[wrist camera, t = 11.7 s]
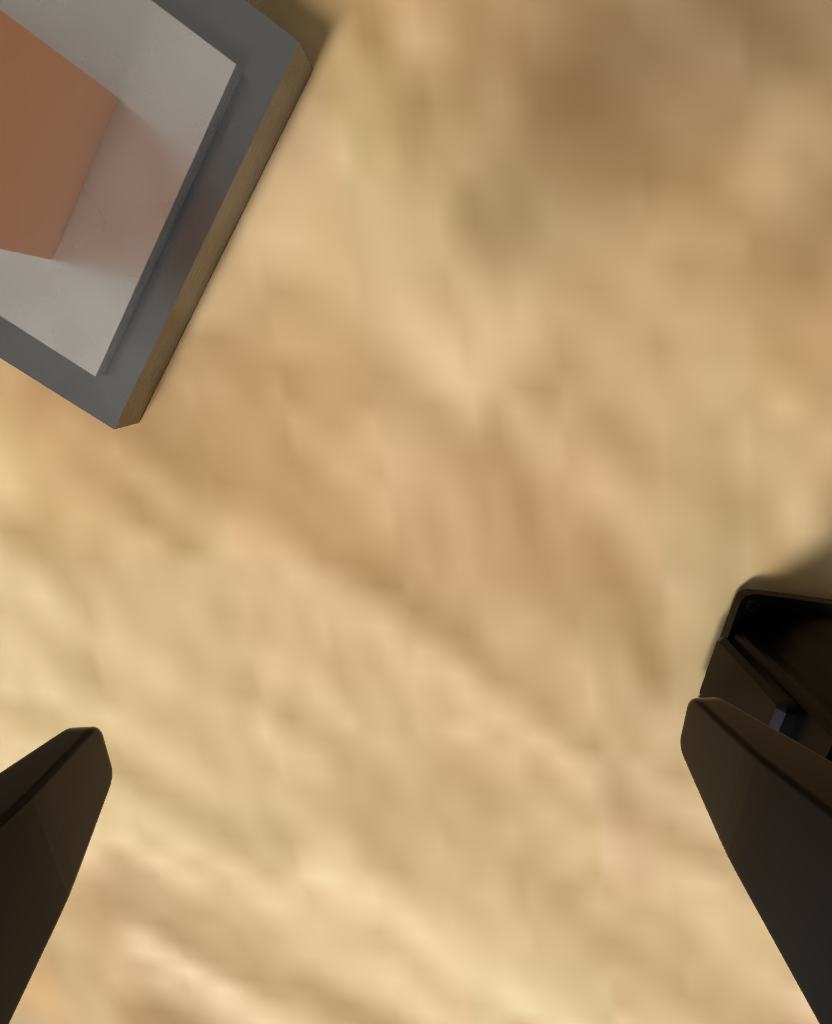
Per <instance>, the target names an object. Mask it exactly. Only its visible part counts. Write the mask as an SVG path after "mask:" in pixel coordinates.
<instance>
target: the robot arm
mask: <svg viewBox="0 0 832 1024" xmlns="http://www.w3.org/2000/svg"><path fill="white" fill-rule="evenodd" d="M750 600H754V602H753V603H752V605H750V606H747V607H746V604H747V602H749V601H750ZM700 694H701V695H700V698H695V699H692V700H691V701H690V702H689V704H688V707H687V711H686V716H685V720H684V725H683V729H682V734H681V750H682V754H683V756H684V759H685V761H686V763H687V766H688V768H689V770H690V772H691V775H692V777H693V779H694V782H695V784H696V786H697V788H698V791H699V793H700V795H701V798H702V800H703V802H704V804H705V807H706V809H707V811H708V813H709V816H710V818H711V820H712V823H713V825H714V827H715V829H716V832H717V834H718V836H719V839H720V841H721V843H722V845H723V847H724V849H725V851H726V853H727V856H728V858H729V859H730V861H731V863H732V865H733V867H734V869H735V871H736V873H737V875H738V876H739V878H740V880H741V882H742V884H743V886H744V887H745V889H746V891H747V893H748V895H749V896H750V898H751V900H752V902H753V904H754V905H755V907H756V909H757V911H758V913H759V915H760V916H761V918H762V920H763V922H764V924H765V925H766V927H767V929H768V931H769V933H770V935H771V936H772V938H773V940H774V942H775V944H776V945H777V947H778V949H779V951H780V953H781V954H782V956H783V958H784V960H785V962H786V964H787V965H788V967H789V969H790V971H791V973H792V974H793V976H794V978H795V980H796V982H797V984H798V985H799V987H800V989H801V991H802V993H803V994H804V996H805V998H806V1000H807V1002H808V1003H809V1005H810V1007H811V1009H812V1011H813V1013H814V1014H815V1016H816V1018H817V1020H818V1022H819V1023H820V1024H832V600H828V599H820V598H813V597H805V596H798V595H791V594H783V593H776V592H768V591H761V590H754V589H746V590H743V591H741V592H739V593H738V594H737V595H736V597H735V598H734V601H733V603H732V606H731V609H730V612H729V615H728V618H727V621H726V624H725V626H724V629H723V632H722V635H721V638H720V639H719V640H718V641H717V643H716V646H715V649H714V652H713V655H712V657H711V660H710V663H709V666H708V669H707V672H706V675H705V678H704V680H703V683H702V686H701V689H700ZM111 780H112V766H111V762H110V759H109V755H108V752H107V748H106V745H105V741H104V738H103V735H102V732H101V731H100V730H99V729H98V728H96V727H78V728H69V729H66V730H65V731H63V732H61V733H60V734H58V735H57V736H55V737H54V738H52V739H51V740H49V741H48V742H46V743H45V744H43V745H42V746H40V747H39V748H37V749H36V750H34V751H33V752H31V753H30V754H28V755H27V756H25V757H24V758H22V759H20V760H19V761H17V762H16V763H14V764H13V765H11V766H10V767H8V768H7V769H5V770H4V771H2V772H1V773H0V1024H9V1022H10V1020H11V1018H12V1016H13V1014H14V1012H15V1010H16V1008H17V1005H18V1003H19V1001H20V999H21V997H22V995H23V993H24V991H25V989H26V987H27V984H28V982H29V980H30V978H31V976H32V974H33V972H34V970H35V968H36V966H37V963H38V961H39V959H40V957H41V955H42V953H43V951H44V949H45V947H46V945H47V942H48V940H49V938H50V936H51V934H52V932H53V930H54V928H55V926H56V923H57V921H58V919H59V917H60V915H61V913H62V911H63V908H64V906H65V904H66V902H67V899H68V897H69V895H70V892H71V890H72V887H73V885H74V882H75V880H76V877H77V874H78V872H79V869H80V866H81V864H82V861H83V858H84V855H85V853H86V850H87V847H88V845H89V842H90V839H91V837H92V834H93V831H94V828H95V826H96V823H97V820H98V818H99V815H100V812H101V809H102V807H103V804H104V801H105V799H106V796H107V793H108V790H109V788H110V785H111Z"/></svg>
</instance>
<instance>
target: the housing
mask: <svg viewBox="0 0 832 1024" xmlns="http://www.w3.org/2000/svg"><path fill="white" fill-rule="evenodd" d="M117 100H118V97H116V96H115V95H114V94H112V93H111V92H110V91H108V90H107V89H106V88H104V87H103V86H102V85H100V84H99V83H98V82H96V81H95V80H94V79H92V78H91V77H90V76H88V75H87V74H86V73H84V72H83V71H82V70H80V69H79V68H78V67H76V66H75V65H74V64H72V63H71V62H70V61H68V60H67V59H66V58H64V57H63V56H62V55H60V54H59V53H58V52H56V51H55V50H54V49H52V48H51V47H50V46H48V45H47V44H45V43H44V42H43V41H41V40H40V39H39V38H37V37H36V36H35V35H33V34H32V33H31V32H29V31H28V30H27V29H25V28H24V27H23V26H21V25H20V24H19V23H17V22H16V21H15V20H13V19H12V18H11V17H9V16H8V15H7V14H5V13H4V12H3V11H1V10H0V249H3V250H8V251H12V252H17V253H22V254H26V255H31V256H36V257H41V258H45V259H50V260H52V259H53V257H54V254H55V252H56V250H57V247H58V245H59V242H60V240H61V237H62V235H63V232H64V230H65V228H66V225H67V223H68V220H69V218H70V215H71V213H72V210H73V208H74V205H75V203H76V201H77V198H78V196H79V193H80V191H81V188H82V186H83V183H84V181H85V179H86V176H87V174H88V171H89V169H90V166H91V164H92V161H93V159H94V157H95V154H96V152H97V149H98V147H99V144H100V142H101V139H102V137H103V134H104V132H105V130H106V127H107V125H108V122H109V120H110V117H111V115H112V112H113V110H114V108H115V105H116V103H117Z"/></svg>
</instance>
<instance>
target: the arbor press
mask: <svg viewBox="0 0 832 1024" xmlns="http://www.w3.org/2000/svg"><path fill="white" fill-rule="evenodd" d="M0 10H1V11H3V12H4V13H5V14H7V15H8V16H9V17H11V18H12V19H13V20H15V21H16V22H17V23H19V24H20V25H21V26H23V27H24V28H25V29H27V30H28V31H29V32H31V33H32V34H33V35H35V36H36V37H37V38H39V39H40V40H41V41H43V42H44V43H45V44H47V45H48V46H50V47H51V48H52V49H54V50H55V51H56V52H58V53H59V54H60V55H62V56H63V57H64V58H66V59H67V60H68V61H70V62H71V63H72V64H74V65H75V66H76V67H78V68H79V69H80V70H82V71H83V72H84V73H86V74H87V75H88V76H90V77H91V78H92V79H94V80H95V81H96V82H98V83H99V84H100V85H102V86H103V87H104V88H106V89H107V90H108V91H110V92H111V93H112V94H114V95H115V96H116V97H118V100H117V103H116V105H115V108H114V110H113V112H112V115H111V117H110V120H109V122H108V125H107V127H106V130H105V132H104V134H103V137H102V139H101V142H100V144H99V147H98V149H97V152H96V154H95V157H94V159H93V161H92V164H91V166H90V169H89V171H88V174H87V176H86V179H85V181H84V183H83V186H82V188H81V191H80V193H79V196H78V198H77V201H76V203H75V205H74V208H73V210H72V213H71V215H70V218H69V220H68V223H67V225H66V228H65V230H64V232H63V235H62V237H61V240H60V242H59V245H58V247H57V250H56V252H55V254H54V257H53V259H52V260H50V259H45V258H41V257H36V256H31V255H26V254H22V253H17V252H12V251H8V250H3V249H0V358H2V359H3V360H5V361H6V362H8V363H9V364H11V365H13V366H14V367H16V368H17V369H19V370H21V371H22V372H24V373H25V374H27V375H29V376H30V377H32V378H33V379H35V380H37V381H38V382H40V383H41V384H43V385H44V386H46V387H48V388H49V389H51V390H52V391H54V392H56V393H57V394H59V395H60V396H62V397H64V398H65V399H67V400H68V401H70V402H72V403H73V404H75V405H76V406H78V407H79V408H81V409H83V410H84V411H86V412H87V413H89V414H91V415H92V416H94V417H95V418H97V419H99V420H100V421H102V422H103V423H105V424H107V425H108V426H110V427H111V428H113V429H117V428H121V427H125V426H129V425H132V424H136V423H139V421H140V419H141V416H142V414H143V412H144V410H145V408H146V406H147V404H148V402H149V400H150V398H151V396H152V394H153V392H154V390H155V388H156V386H157V384H158V382H159V380H160V378H161V376H162V374H163V372H164V370H165V368H166V366H167V364H168V362H169V360H170V358H171V356H172V354H173V352H174V350H175V347H176V345H177V343H178V341H179V339H180V337H181V335H182V333H183V331H184V329H185V327H186V325H187V323H188V321H189V319H190V317H191V315H192V313H193V311H194V309H195V307H196V305H197V303H198V301H199V299H200V297H201V295H202V293H203V291H204V289H205V287H206V285H207V283H208V281H209V278H210V276H211V274H212V272H213V270H214V268H215V266H216V264H217V262H218V260H219V258H220V256H221V254H222V252H223V250H224V248H225V246H226V244H227V242H228V240H229V238H230V236H231V234H232V232H233V230H234V228H235V226H236V224H237V222H238V220H239V218H240V216H241V214H242V212H243V209H244V207H245V205H246V203H247V201H248V199H249V197H250V195H251V193H252V191H253V189H254V187H255V185H256V183H257V181H258V179H259V177H260V175H261V173H262V171H263V169H264V167H265V165H266V163H267V161H268V159H269V157H270V155H271V153H272V151H273V149H274V147H275V145H276V143H277V140H278V138H279V136H280V134H281V132H282V130H283V128H284V126H285V124H286V122H287V120H288V118H289V116H290V114H291V112H292V110H293V108H294V106H295V104H296V102H297V100H298V98H299V96H300V94H301V92H302V90H303V88H304V86H305V84H306V82H307V80H308V78H309V76H310V74H311V71H312V69H313V68H312V66H311V64H310V62H309V60H308V58H307V56H306V54H305V52H304V50H303V48H302V46H301V43H300V42H299V41H298V40H297V39H295V38H294V37H293V36H292V35H290V34H289V33H288V32H286V31H285V30H284V29H283V28H281V27H280V26H279V25H277V24H276V23H275V22H273V21H272V20H271V19H270V18H268V17H267V16H266V15H264V14H263V13H262V12H261V11H259V10H258V9H257V8H255V7H254V6H253V5H251V4H250V3H249V2H248V1H246V0H0Z"/></svg>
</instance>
